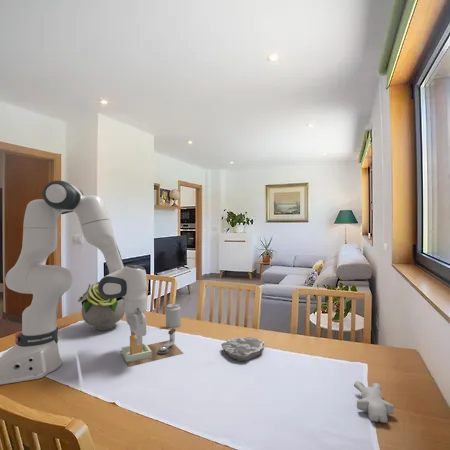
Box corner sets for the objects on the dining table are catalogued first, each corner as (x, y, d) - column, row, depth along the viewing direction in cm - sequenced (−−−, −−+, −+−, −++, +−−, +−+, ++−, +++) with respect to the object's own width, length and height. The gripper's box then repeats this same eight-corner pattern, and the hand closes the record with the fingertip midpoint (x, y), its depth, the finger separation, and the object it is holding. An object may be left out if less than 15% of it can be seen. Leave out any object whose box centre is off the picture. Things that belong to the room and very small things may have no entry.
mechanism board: (127, 371, 108) (127, 364, 108) (119, 354, 122) (119, 348, 122) (183, 357, 119) (183, 350, 119) (170, 343, 133) (170, 337, 133)
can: (173, 331, 147) (172, 307, 147) (163, 328, 152) (162, 305, 152) (183, 327, 153) (183, 304, 153) (173, 324, 158) (173, 302, 158)
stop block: (142, 355, 117) (142, 337, 117) (132, 357, 115) (131, 339, 115) (139, 351, 120) (139, 334, 120) (129, 353, 118) (129, 336, 118)
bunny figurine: (360, 408, 79) (350, 374, 93) (360, 425, 80) (350, 389, 94) (399, 413, 77) (383, 377, 91) (398, 431, 77) (382, 393, 92)
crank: (164, 352, 118) (164, 338, 118) (157, 351, 119) (157, 337, 119) (177, 341, 128) (177, 328, 128) (171, 340, 129) (171, 328, 129)
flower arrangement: (78, 324, 159) (77, 279, 159) (126, 317, 170) (126, 275, 170) (76, 340, 137) (76, 288, 137) (132, 331, 147) (131, 283, 147)
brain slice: (235, 340, 136) (235, 334, 136) (269, 348, 128) (269, 341, 128) (212, 357, 119) (212, 349, 119) (250, 367, 111) (250, 359, 111)
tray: (126, 363, 111) (126, 356, 111) (121, 353, 119) (121, 347, 119) (151, 357, 116) (151, 351, 116) (145, 348, 124) (145, 342, 124)
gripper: (150, 311, 110) (150, 348, 110) (137, 299, 127) (138, 331, 127) (133, 313, 106) (133, 351, 106) (122, 301, 124) (123, 333, 124)
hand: (135, 340), depth 117 cm, fingers open, 8 cm apart
